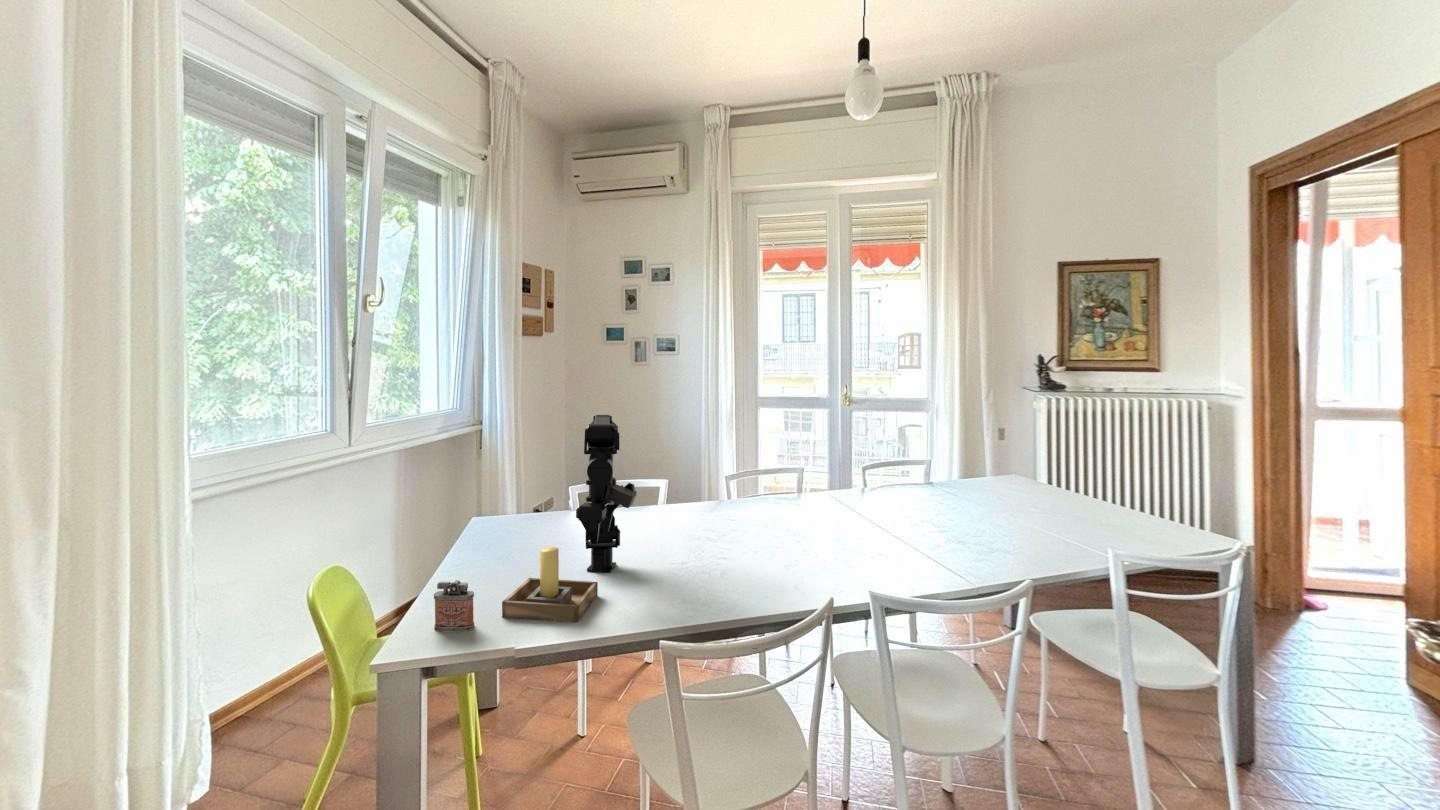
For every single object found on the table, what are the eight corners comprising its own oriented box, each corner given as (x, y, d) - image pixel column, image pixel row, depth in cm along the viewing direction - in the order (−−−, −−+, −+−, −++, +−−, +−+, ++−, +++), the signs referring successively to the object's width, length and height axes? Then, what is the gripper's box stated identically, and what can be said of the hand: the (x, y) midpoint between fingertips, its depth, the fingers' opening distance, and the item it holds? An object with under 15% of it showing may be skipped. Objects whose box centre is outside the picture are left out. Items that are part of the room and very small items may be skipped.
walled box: (529, 591, 141) (529, 576, 141) (597, 596, 139) (597, 580, 139) (502, 617, 127) (502, 600, 127) (577, 622, 125) (577, 605, 125)
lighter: (477, 624, 124) (476, 578, 123) (470, 631, 120) (470, 584, 119) (438, 624, 123) (437, 578, 123) (431, 631, 120) (430, 584, 119)
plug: (552, 600, 134) (552, 545, 133) (561, 605, 132) (561, 549, 131) (537, 605, 132) (536, 549, 130) (545, 611, 129) (545, 554, 128)
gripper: (623, 484, 131) (622, 552, 132) (642, 469, 149) (641, 528, 151) (575, 482, 132) (575, 549, 133) (600, 467, 150) (600, 526, 152)
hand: (600, 537), depth 142 cm, fingers open, 9 cm apart
